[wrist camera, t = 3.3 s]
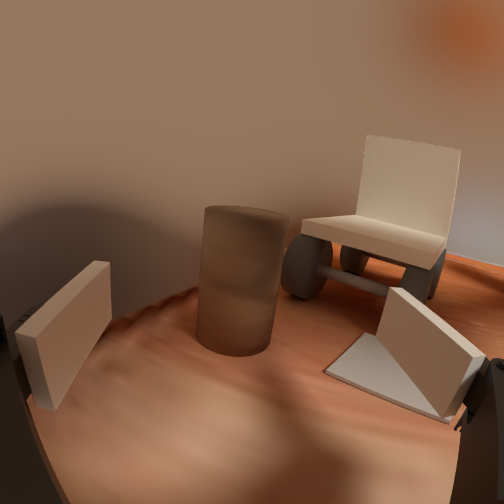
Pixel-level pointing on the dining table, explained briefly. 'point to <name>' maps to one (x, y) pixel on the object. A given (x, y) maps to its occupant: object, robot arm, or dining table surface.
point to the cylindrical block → (239, 278)
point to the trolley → (383, 223)
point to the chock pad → (380, 376)
